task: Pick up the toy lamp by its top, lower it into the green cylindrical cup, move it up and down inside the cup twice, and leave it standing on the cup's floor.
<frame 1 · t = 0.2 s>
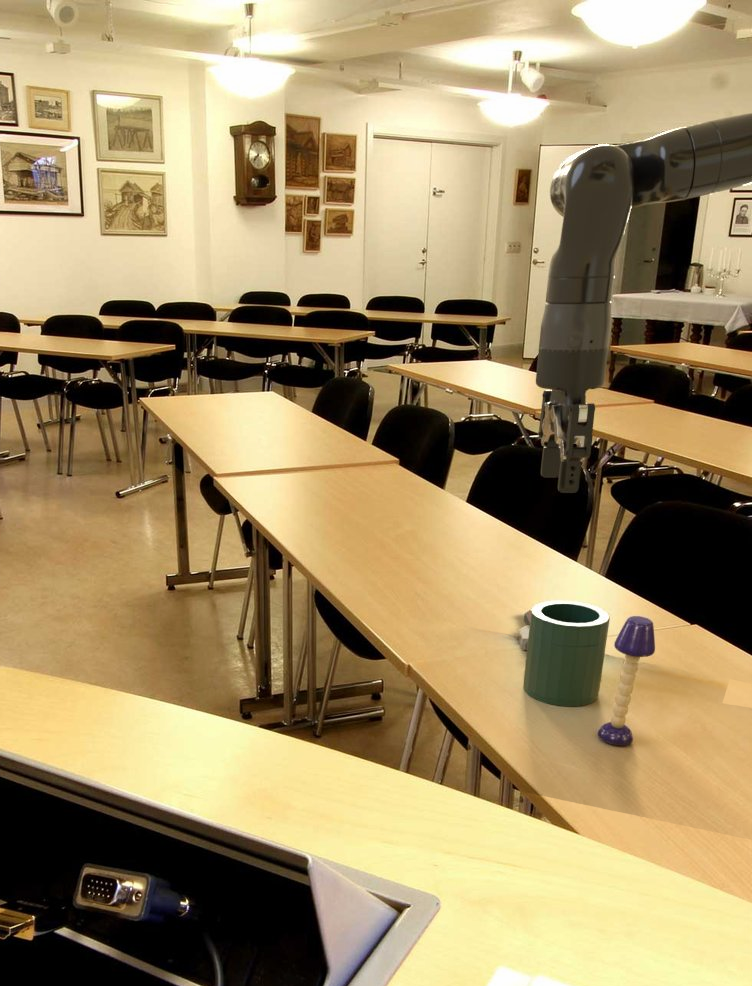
hand: (558, 484, 110), 32 cm above the table, tool pointing down, fingers open, 8 cm apart
green cylindrical cup: (560, 690, 131), on the table
walkie-talkie: (546, 648, 146), on the table
toy lamp: (616, 740, 118), on the table
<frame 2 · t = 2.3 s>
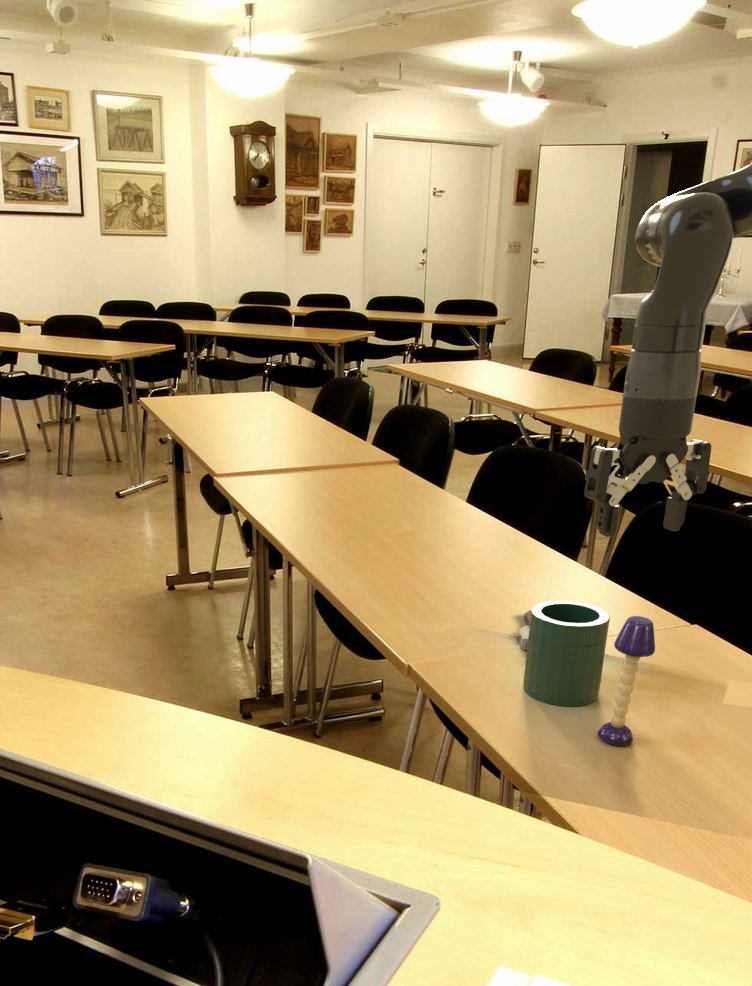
hand: (639, 532, 108), 27 cm above the table, tool pointing down, fingers open, 8 cm apart
nothing on the table moved.
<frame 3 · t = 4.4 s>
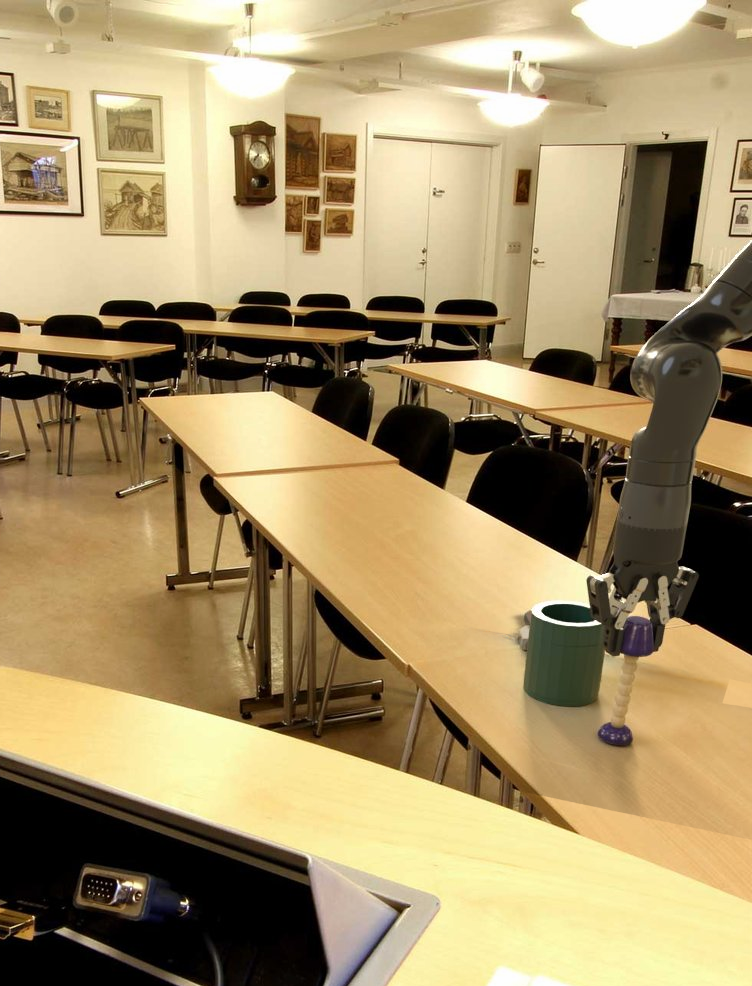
hand: (631, 651, 113), 12 cm above the table, tool pointing down, fingers closed on toy lamp, 4 cm apart
toy lamp: (616, 740, 118), on the table, touching gripper
everything else where it was.
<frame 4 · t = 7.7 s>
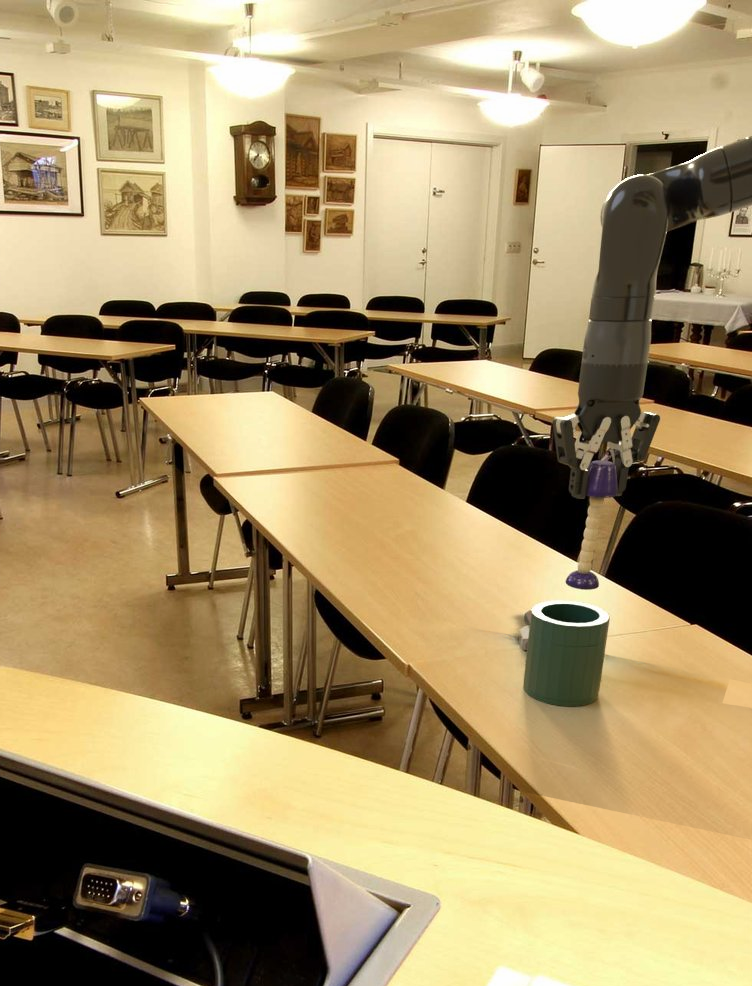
hand: (596, 495, 118), 29 cm above the table, tool pointing down, fingers closed on toy lamp, 4 cm apart
toy lamp: (583, 586, 122), point 17 cm above the table, touching gripper
everything else where it was.
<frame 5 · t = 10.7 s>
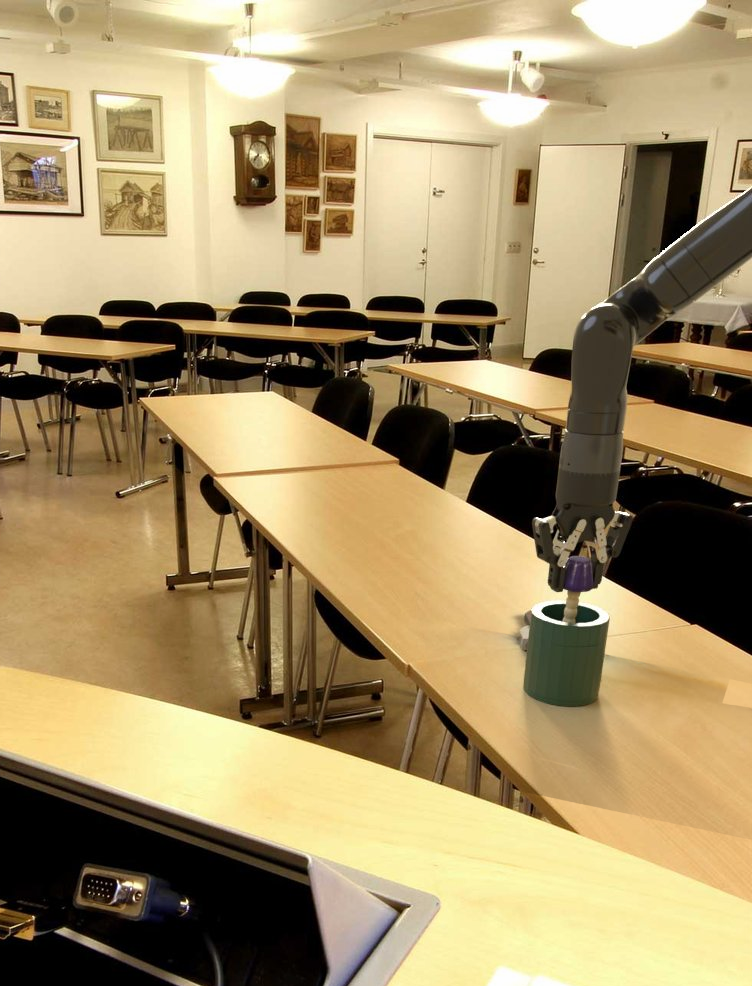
hand: (573, 588, 125), 16 cm above the table, tool pointing down, fingers closed on toy lamp, 4 cm apart
toy lamp: (562, 671, 130), point 3 cm above the table, touching gripper
everything else where it was.
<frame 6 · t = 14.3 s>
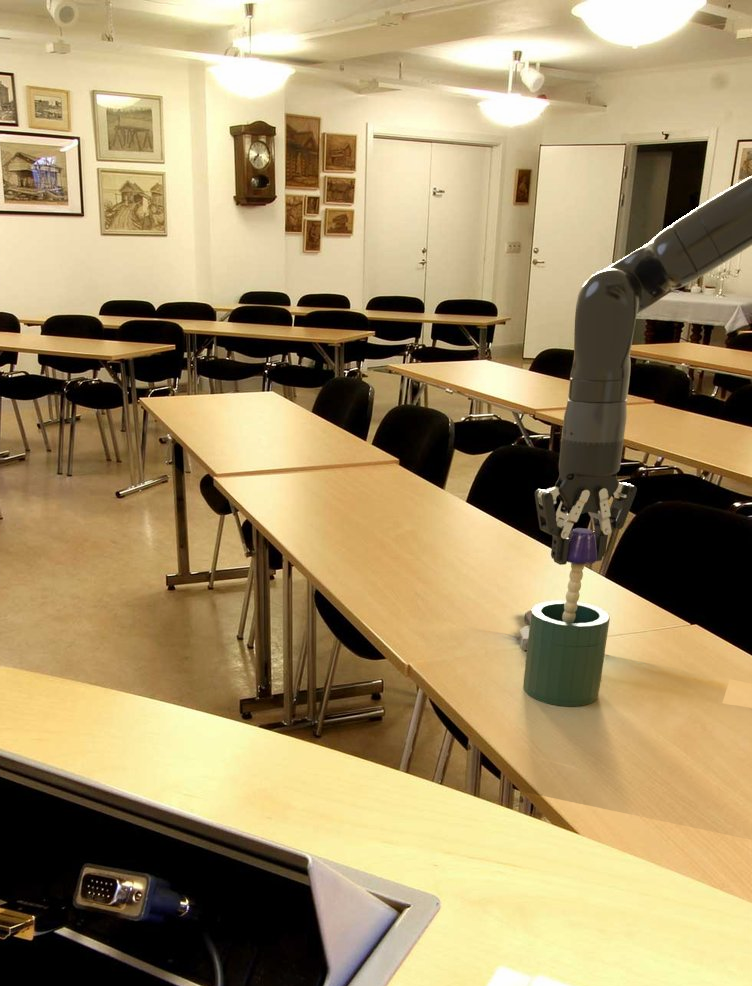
hand: (577, 560, 124), 20 cm above the table, tool pointing down, fingers closed on toy lamp, 4 cm apart
toy lamp: (566, 645, 128), point 7 cm above the table, touching gripper
everything else where it was.
when the fingers open (13 cm above the table, at t = 17.3 s): toy lamp stays where it is, resting on green cylindrical cup.
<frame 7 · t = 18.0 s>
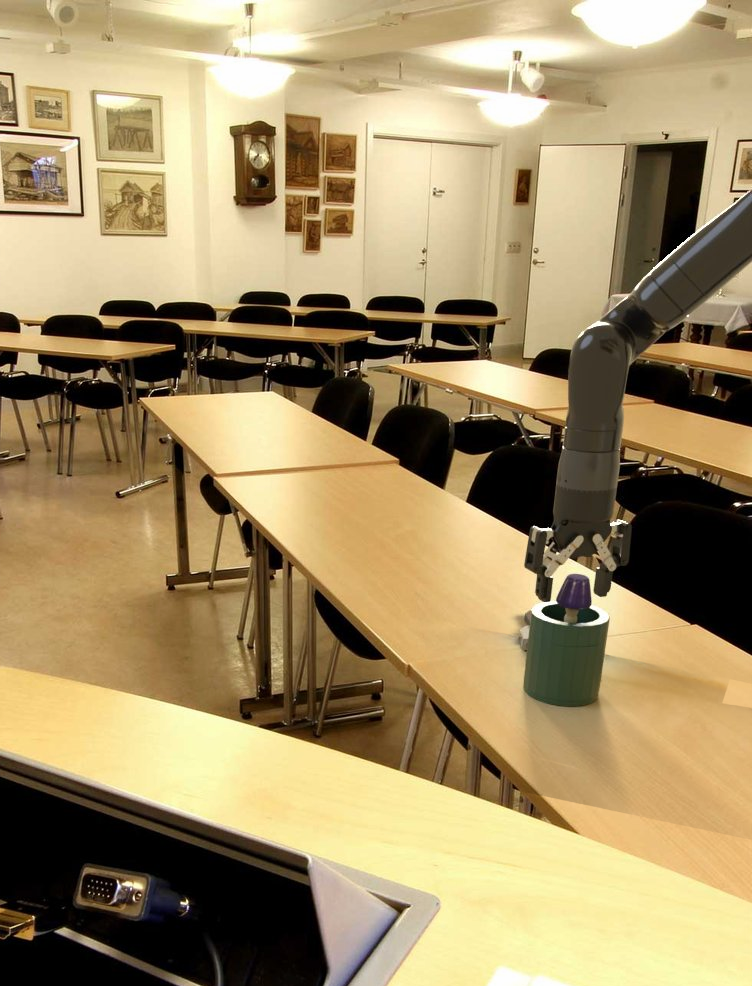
hand: (572, 597, 126), 14 cm above the table, tool pointing down, fingers open, 8 cm apart
toy lamp: (560, 687, 131), point 1 cm above the table, touching green cylindrical cup
everything else where it was.
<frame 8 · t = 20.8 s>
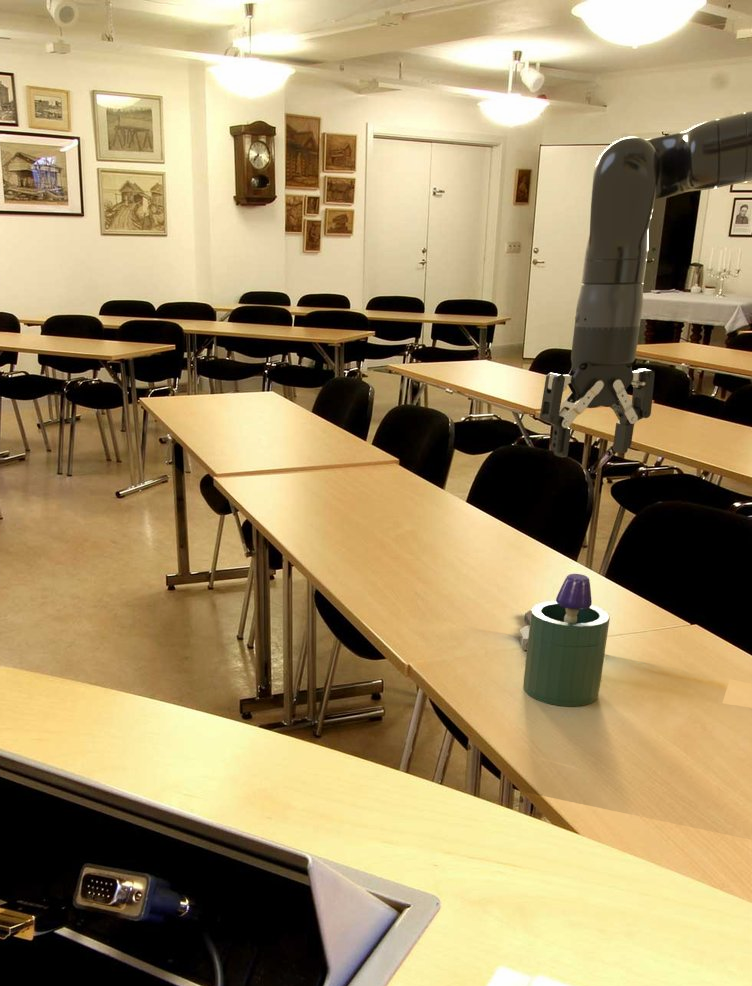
hand: (590, 454, 118), 34 cm above the table, tool pointing down, fingers open, 8 cm apart
nothing on the table moved.
at the end: toy lamp 0.1 cm off-centre in the green cylindrical cup, point 0.6 cm above the green cylindrical cup's base; toy lamp tilted 0°; the gripper is holding nothing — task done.
